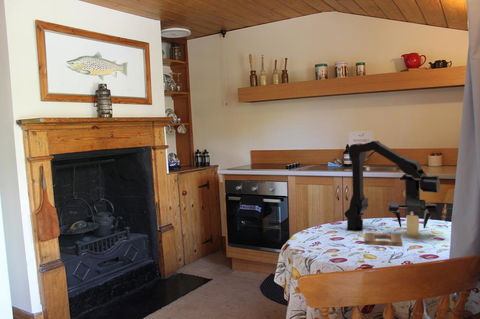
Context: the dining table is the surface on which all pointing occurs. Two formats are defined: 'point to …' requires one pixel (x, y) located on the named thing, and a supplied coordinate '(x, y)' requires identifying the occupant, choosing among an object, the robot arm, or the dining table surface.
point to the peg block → (412, 226)
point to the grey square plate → (411, 237)
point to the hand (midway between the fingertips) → (412, 227)
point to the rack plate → (377, 240)
